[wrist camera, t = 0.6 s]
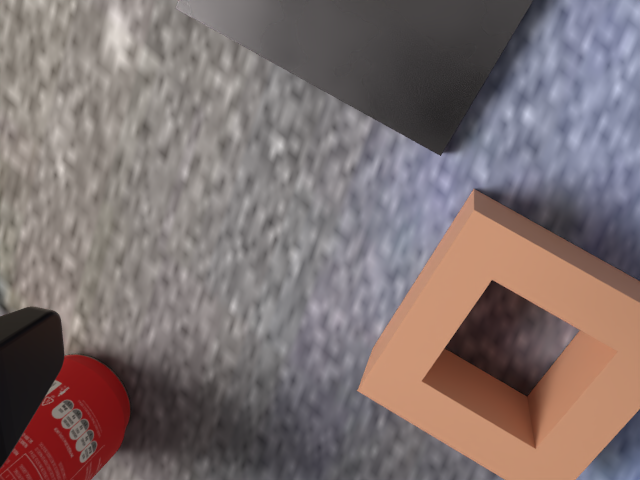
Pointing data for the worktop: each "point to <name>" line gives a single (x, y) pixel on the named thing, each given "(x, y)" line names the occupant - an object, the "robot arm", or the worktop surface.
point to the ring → (488, 392)
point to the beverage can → (73, 425)
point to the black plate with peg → (378, 52)
